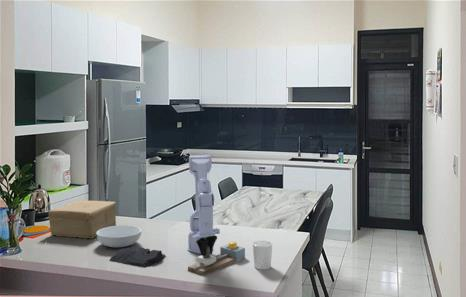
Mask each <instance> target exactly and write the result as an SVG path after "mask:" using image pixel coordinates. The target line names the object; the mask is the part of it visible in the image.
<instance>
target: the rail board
mask: <svg viewBox="0 0 466 297" xmlns="http://www.w3.org/2000/svg"><path fill="white" fill-rule="evenodd" d="M214 256H215V257H216V262H214V263H213V264H210V265H208V266H206V267H205V266H204V264H203V263H202V264H200V262H196V263H193V264H191V265H189V266H187V271H189V272H193V273H196V274H199V275H201V276H205V275H206V276H207V275H208V274H210V273H213V272H216V271H217V270H220V269H222V268H225V267H227V266H229V265H231V264H235V263H236V258H234V257H230V256H228V254H225V255H223V254H220V253H219V254H216V255H214Z"/></svg>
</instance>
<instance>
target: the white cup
mask: <svg viewBox="0 0 466 297" xmlns="http://www.w3.org/2000/svg"><path fill="white" fill-rule="evenodd" d="M252 249H253V250H252V252H253V267H254V268H255V269H257V270H260V271H265V270H270V269H271V267H272V266H271V265H272V253H273V243H272V242H271V241H268V240H256V241H254V242H253V243H252Z"/></svg>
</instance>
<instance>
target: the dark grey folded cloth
mask: <svg viewBox="0 0 466 297" xmlns="http://www.w3.org/2000/svg"><path fill="white" fill-rule="evenodd" d="M165 257H166V255H165V253H164V254H163V251H162V250H156V249H152V250H151V249H150V248H145V247H138V248H137V249H134V248H128V247H121V249H119V250H118V251H117V252H116V253H115V254H114V255H112V256H111V257H110V258H109V260H108V261H110V262H113V263H117V264H122V265H130V266H135V267H140V268H147V267H148V268H150V267H152V266H153V265H155V264H158V263H161V261H163V260H164V259H165Z"/></svg>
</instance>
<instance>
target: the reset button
mask: <svg viewBox="0 0 466 297" xmlns="http://www.w3.org/2000/svg"><path fill="white" fill-rule="evenodd" d="M227 245H228V248H229V249H232V250H234V249H237V246H238V245H237V242H236V241H229V242H228V244H227Z"/></svg>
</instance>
